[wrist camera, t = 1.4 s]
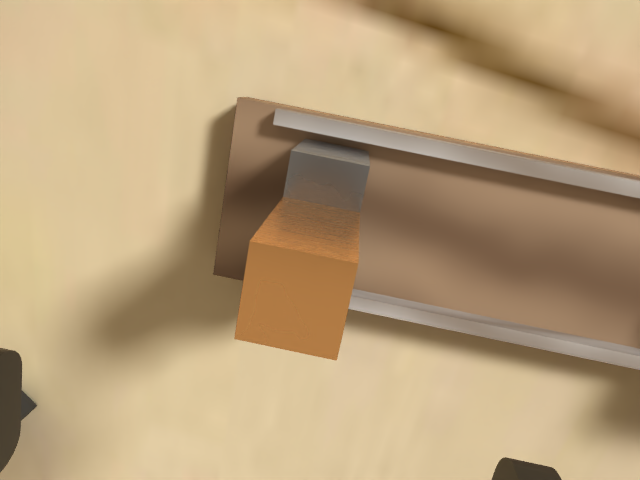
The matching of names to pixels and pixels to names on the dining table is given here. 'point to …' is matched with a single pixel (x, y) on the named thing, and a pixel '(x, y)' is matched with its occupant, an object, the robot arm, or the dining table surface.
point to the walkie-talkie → (26, 405)
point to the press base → (460, 232)
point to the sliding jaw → (306, 254)
